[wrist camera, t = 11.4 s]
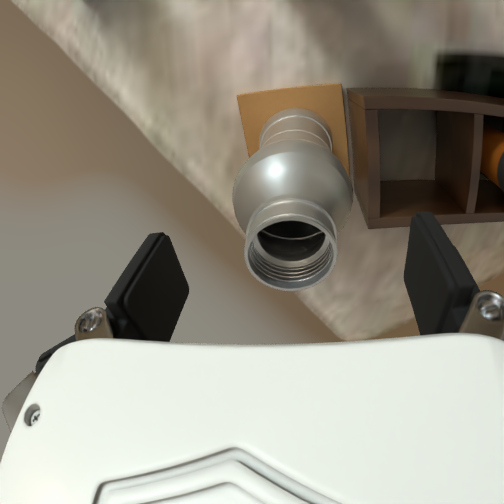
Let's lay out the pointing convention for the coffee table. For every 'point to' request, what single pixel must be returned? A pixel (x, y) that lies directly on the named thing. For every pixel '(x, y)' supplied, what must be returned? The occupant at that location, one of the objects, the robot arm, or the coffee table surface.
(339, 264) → the coffee table surface
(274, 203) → the metal flask
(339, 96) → the cork mat
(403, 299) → the coffee table surface
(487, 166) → the spice jar
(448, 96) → the brown divided box
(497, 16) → the coffee table surface
